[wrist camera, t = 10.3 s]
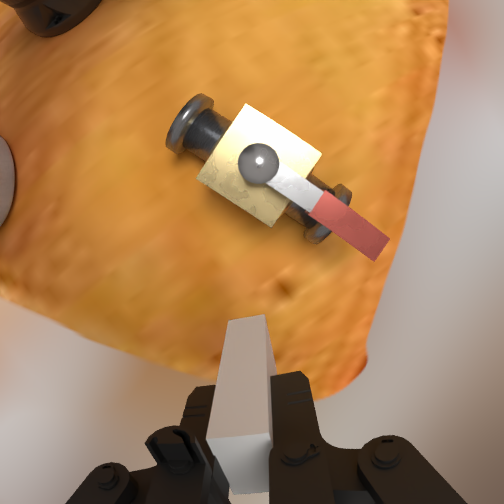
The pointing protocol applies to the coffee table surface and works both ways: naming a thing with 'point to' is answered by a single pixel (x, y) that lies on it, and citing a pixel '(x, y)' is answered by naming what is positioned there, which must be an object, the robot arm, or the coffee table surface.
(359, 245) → the lever
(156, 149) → the coffee table surface
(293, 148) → the valve body
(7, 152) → the planter
